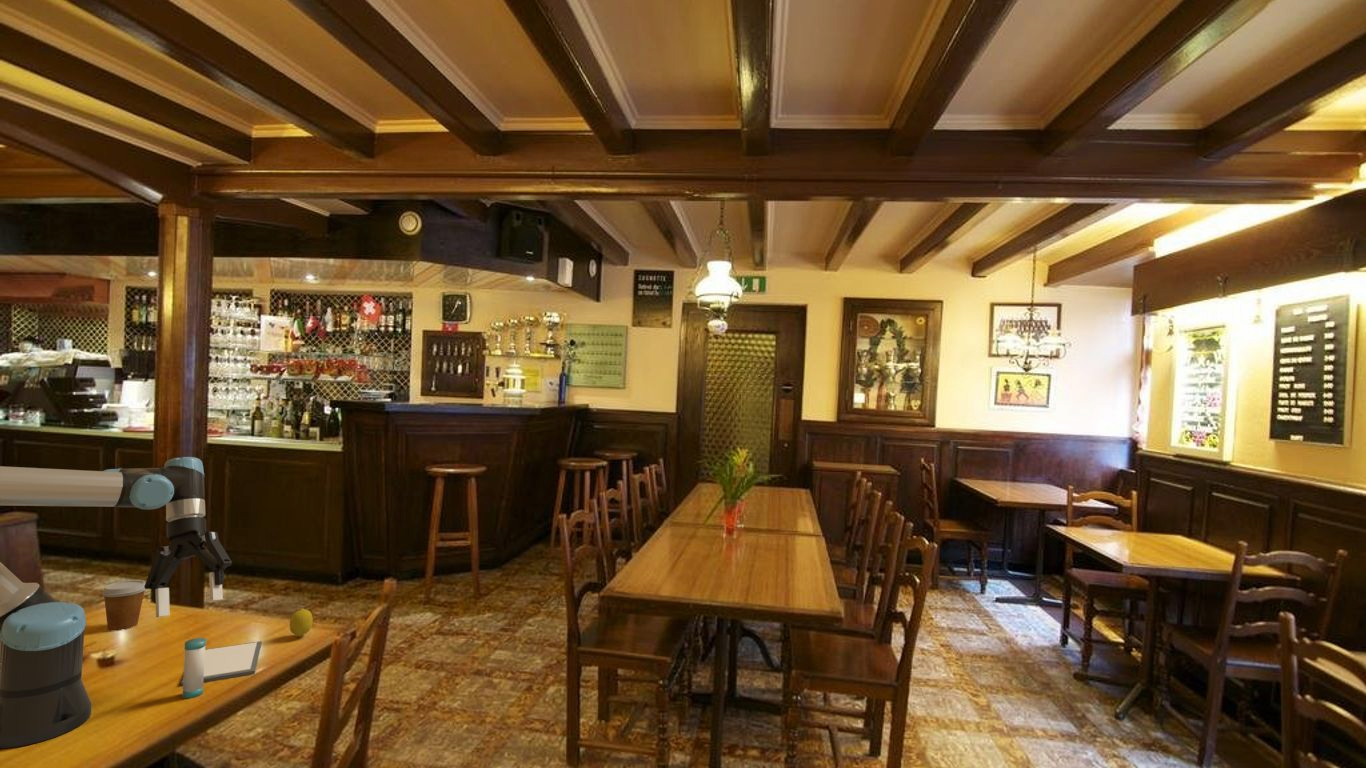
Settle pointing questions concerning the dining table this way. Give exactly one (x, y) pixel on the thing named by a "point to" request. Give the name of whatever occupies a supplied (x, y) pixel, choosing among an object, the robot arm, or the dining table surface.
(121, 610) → the disposable coffee cup
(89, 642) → the dining table surface
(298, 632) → the lemon
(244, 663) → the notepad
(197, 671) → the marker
